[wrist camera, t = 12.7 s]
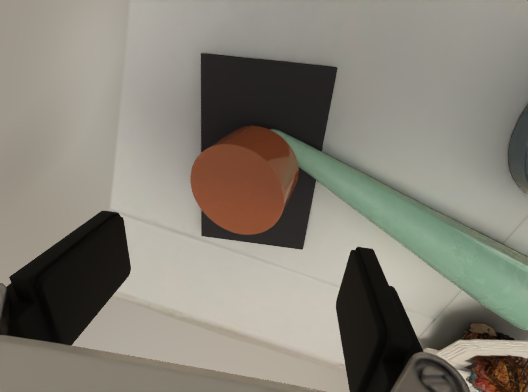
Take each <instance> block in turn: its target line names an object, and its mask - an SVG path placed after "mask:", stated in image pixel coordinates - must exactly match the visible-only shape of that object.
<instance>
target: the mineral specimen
mask: <svg viewBox="0 0 528 392" xmlns="http://www.w3.org/2000/svg"><path fill="white" fill-rule="evenodd" d="M470 326H471V330H470V329H468V330H469V331H471V332H472V333H471V334H470V335H468V336H467V334H468V332H466V331H464V333H466V335H465V336H464V338H463V339H462V340H458V341H456V342H454V343H452V344H451V345H449V346H447V347H445V348H444V349H442V350H436V349H431V348H425V349H424V350H423V352H426V353H431V354H434V355H437V356H439V357H440V358H442V359H444V360H446V361H447V362H448V363H450V364H451V365H452V366H453V367H454V368H455V369H456V370H457V371H458V372H459V373H460V374H461V375H462V376H463V378H464V380H465V381H466V383H467V385H468V386H470V387H474V388H476V390H477V389H478V390H479V391H481V392H528V341H518V340H514V338H510V337H509V335H504V334H502V333H498V332H495V330H494V329H492V328H491V327H489V326H488V325H486V324H480V323H472V324H471V325H470ZM488 327H489V328H488ZM465 338H466V339H465ZM472 361H473V362H472Z"/></svg>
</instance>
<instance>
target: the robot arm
mask: <svg viewBox="0 0 528 392" xmlns="http://www.w3.org/2000/svg"><path fill="white" fill-rule="evenodd" d="M130 271H131V266H130V259H129V253H128V246H127V239H126V233H125V226H124V220H123V218H122V217H120V215H119V213H117V212H110V211H101V212H100V213H98V214H97V215H96V216H94V217H93V218H91V219H90V220H88V221H87V222H86V223H84V224H83V225H81V226H80V227H79V228H77V229H76V230H75V231H73V232H72V233H70V234H69V235H67V236H66V237H65V238H63V239H62V240H61V241H59V242H58V243H56V244H55V245H53V246H52V247H51V248H49V249H48V250H47V251H45V252H44V253H42V254H41V255H39V256H38V257H37V258H35V259H34V260H32V261H31V262H30V263H28V264H27V265H25V266H24V267H23V268H21V269H20V270H18V271H17V272H16V273H14V274H13V275H11V276H10V277H9V278H10V280H11V284H10V285H8V286H7V287H6V286H5V285H4V284H2V283H0V392H325V391H320V390H315V389H310V388H305V387H300V386H295V385H290V384H285V383H279V382H274V381H269V380H263V379H258V378H252V377H246V376H241V375H236V374H230V373H225V372H219V371H214V370H208V369H203V368H197V367H191V366H185V365H179V364H174V363H169V362H163V361H157V360H152V359H146V358H140V357H135V356H129V355H123V354H117V353H111V352H105V351H99V350H94V349H88V348H82V347H76V346H71V345H72V344H73V343H74V341H75V340H76V339H77V338H78V336H79V335H80V334H81V333H82V332H83V331H84V329H85V328H86V327H87V326H88V324H89V323H90V322H91V321H92V320H93V318H94V317H95V316H96V315H97V314H98V312H99V311H100V310H101V309H102V308H103V306H104V305H105V304H106V303H107V302H108V300H109V299H110V298H111V297H112V295H113V294H114V293H115V292H116V291H117V289H118V288H119V287H120V286H121V285H122V283H123V282H124V281H125V280H126V278H127V277H128V276H129V274H130ZM336 311H337V317H338V323H339V329H340V335H341V341H342V347H343V353H344V359H345V365H346V371H347V377H348V384H349V390H350V392H470V390H469V387H468V385H467V383H466V381H465V380H464V378H463V376H462V375H461V374H460V373H459V372H458V371H457V370H456V369H455V368H454V367H453V366H452V365H451V364H450V363H448V362H447V361H446V360H444V359H442V358H440V357H439V356H437V355H434V354H431V353H426V352H423V349H422V347H421V345H420V343H419V341H418V338H417V336H416V334H415V332H414V329H413V327H412V325H411V323H410V321H409V318H408V316H407V314H406V312H405V309H404V307H403V305H402V303H401V301H400V298H399V296H398V294H397V292H396V290H395V288H394V287H392V286H389V285H388V283H387V280H386V278H385V276H384V273H383V271H382V269H381V266H380V264H379V262H378V259H377V257H376V255H375V252H374V250H373V249H369V248H362V247H357V248H356V250H351V252H350V256H349V259H348V262H347V266H346V269H345V273H344V276H343V280H342V283H341V287H340V290H339V294H338V297H337V301H336Z"/></svg>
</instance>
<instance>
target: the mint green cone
mask: <svg viewBox="0 0 528 392" xmlns="http://www.w3.org/2000/svg"><path fill="white" fill-rule="evenodd" d="M271 131H273V132H275V133H277V134H278V135H280V136H281V137H282V138H283V139H284V140H285V141H286V142H287V143H288V144H289V145H290V147H291V148H292V150H293V152H294V154H295V156H296V158H297V162H298V167H300V168H301V169H302V170H304V171H305V172H306V173H308V174H309V175H310V176H312V177H313V178H314V179H316V180H317V181H318V182H320V183H321V184H322V185H324V186H325V187H326V188H328V189H329V190H330V191H331V192H333V193H334V194H335V195H337V196H338V197H339V198H341V199H342V200H343V201H345V202H346V203H347V204H349V205H350V206H351V207H353V208H354V209H355V210H357V211H358V212H359V213H361V214H362V215H363V216H365V217H366V218H367V219H369V220H370V221H371V222H373V223H374V224H375V225H377V226H378V227H379V228H381V229H382V230H383V231H385V232H386V233H387V234H389V235H390V236H391V237H393V238H394V239H395V240H397V241H398V242H399V243H401V244H402V245H403V246H405V247H406V248H407V249H409V250H410V251H411V252H413V253H414V254H415V255H417V256H418V257H419V258H421V259H422V260H423V261H424V262H426V263H427V264H428V265H430V266H431V267H432V268H434V269H435V270H436V271H438V272H439V273H440V274H442V275H443V276H444V277H446V278H447V279H448V280H450V281H451V282H452V283H454V284H455V285H456V286H458V287H459V288H460V289H462V290H463V291H464V292H466V293H467V294H468V295H470V296H471V297H472V298H474V299H475V300H476V301H478V302H479V303H481V304H482V305H484V306H485V307H487V308H488V309H490V310H491V311H493V312H494V313H496V314H497V315H499V316H500V317H502V318H503V319H505V320H506V321H508V322H509V323H511V324H512V325H514V326H516V327H517V328H520V329H523V330H527V331H528V257H526V256H524V255H522V254H520V253H518V252H516V251H514V250H512V249H510V248H508V247H506V246H504V245H502V244H500V243H498V242H496V241H494V240H492V239H490V238H488V237H486V236H484V235H482V234H480V233H478V232H476V231H474V230H472V229H470V228H468V227H466V226H464V225H462V224H460V223H458V222H456V221H454V220H452V219H450V218H448V217H446V216H444V215H442V214H440V213H438V212H436V211H434V210H433V209H431V208H429V207H427V206H425V205H423V204H421V203H419V202H417V201H415V200H413V199H411V198H409V197H407V196H405V195H403V194H401V193H400V192H398V191H396V190H394V189H392V188H390V187H388V186H386V185H384V184H382V183H380V182H378V181H377V180H375V179H373V178H371V177H369V176H367V175H365V174H363V173H361V172H359V171H357V170H355V169H354V168H352V167H350V166H348V165H346V164H344V163H342V162H340V161H338V160H336V159H334V158H332V157H330V156H328V155H327V154H325V153H323V152H321V151H319V150H317V149H315V148H313V147H311V146H309V145H307V144H305V143H303V142H301V141H299V140H297V139H295V138H293V137H291V136H289V135H287V134H285V133H283V132H281V131H279V130H275V129H271Z"/></svg>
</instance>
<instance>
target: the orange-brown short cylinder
mask: <svg viewBox="0 0 528 392" xmlns="http://www.w3.org/2000/svg"><path fill="white" fill-rule="evenodd" d="M298 177H299V167H298V162H297V158H296V156H295V154H294V152H293V150H292V148H291V147H290V145H289V144H288V143H287V142H286V141H285V140H284V139H283V138H282V137H281V136H280V135H278V134H277V133H275V132H273V131H271V130H269V129H267V128H263V127H259V126H246V127H242V128H239V129H237V130H235V131H233V132H231V133H230V134H228V135H227V136H225V137H224V138H222V139H221V140H219V141H218V142H216V143H215V144H213V145H212V146H210V147H209V148H207V149H206V150H205V151H203V152H202V153H201V154H200V155H199V156H198V157H197V159H196V160H195V162H194V164H193V167H192V171H191V188H192V192H193V195H194V197H195V200H196V201H197V203H198V205H199V207H200V208H201V210H202V211H203V212H204V213H205V214H206V215H207V216H208V218H210V219H211V220H212V221H213V222H214V223H216V224H217V225H219V226H220V227H222V228H224V229H226V230H228V231H231V232H234V233H238V234H245V235H251V234H258V233H262V232H264V231H266V230H268V229H270V228H271V227H272V226H274V225H275V224H276V222H277V221H278V220H279V218H280V217H281V215H282V213H283V211H284V209H285V207H286V205H287V203H288V201H289V199H290V197H291V195H292V193H293V191H294V189H295V187H296V185H297V182H298Z"/></svg>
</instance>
